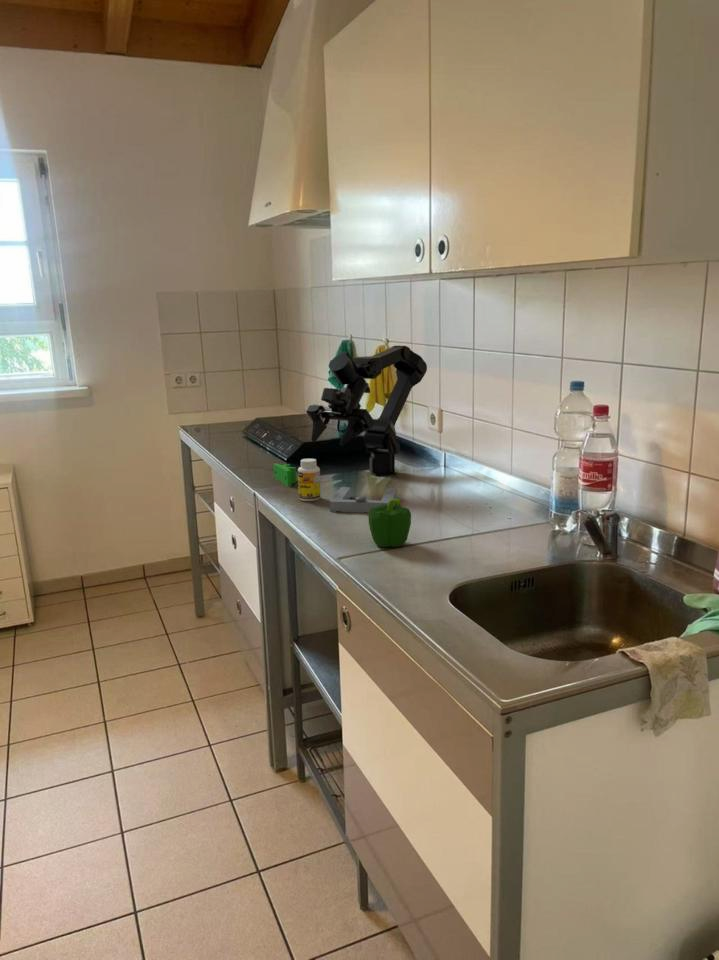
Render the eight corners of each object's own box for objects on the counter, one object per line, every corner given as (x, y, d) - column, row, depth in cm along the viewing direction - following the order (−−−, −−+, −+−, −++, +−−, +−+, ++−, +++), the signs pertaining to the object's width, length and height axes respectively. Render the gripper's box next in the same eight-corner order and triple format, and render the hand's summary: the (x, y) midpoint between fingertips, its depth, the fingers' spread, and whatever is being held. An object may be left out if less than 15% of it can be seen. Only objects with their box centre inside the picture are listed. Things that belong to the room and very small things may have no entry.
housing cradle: (341, 496, 187) (340, 484, 186) (397, 498, 184) (397, 485, 184) (330, 511, 173) (329, 498, 172) (390, 513, 171) (390, 500, 170)
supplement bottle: (294, 500, 184) (292, 460, 182) (308, 495, 188) (307, 456, 186) (311, 503, 181) (309, 463, 179) (325, 498, 185) (324, 459, 183)
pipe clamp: (300, 485, 200) (300, 469, 199) (287, 487, 198) (287, 471, 197) (286, 477, 210) (285, 461, 208) (273, 478, 208) (273, 463, 207)
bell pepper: (361, 542, 150) (361, 495, 148) (395, 536, 154) (395, 490, 152) (382, 554, 143) (382, 505, 141) (417, 546, 147) (417, 499, 145)
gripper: (309, 374, 193) (283, 421, 187) (367, 377, 183) (342, 427, 177) (328, 400, 201) (304, 446, 195) (384, 405, 191) (361, 453, 185)
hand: (326, 442), depth 188 cm, fingers open, 9 cm apart
